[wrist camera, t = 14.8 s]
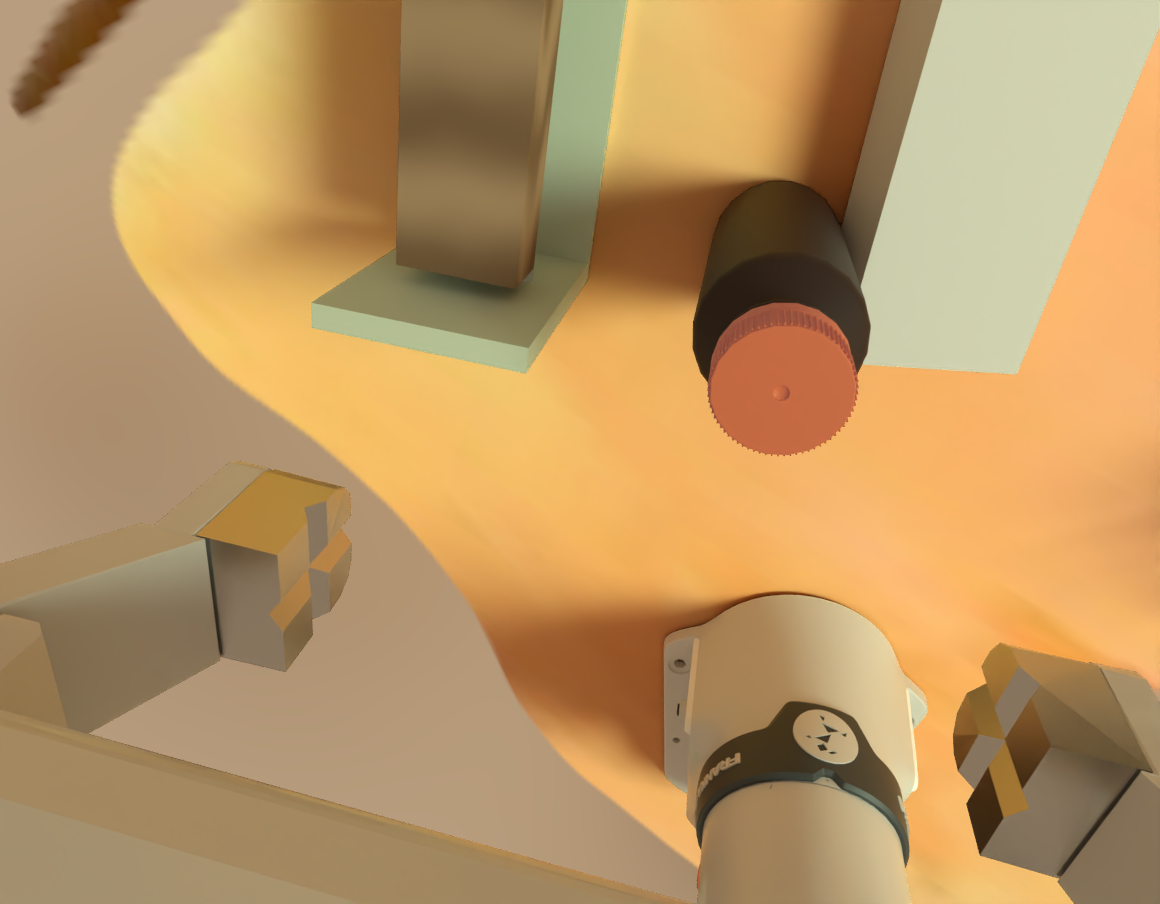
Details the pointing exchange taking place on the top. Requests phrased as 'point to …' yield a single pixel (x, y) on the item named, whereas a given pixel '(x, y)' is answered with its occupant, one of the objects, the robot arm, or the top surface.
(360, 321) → the shelf frame
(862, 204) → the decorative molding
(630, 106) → the top surface
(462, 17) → the plank
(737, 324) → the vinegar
